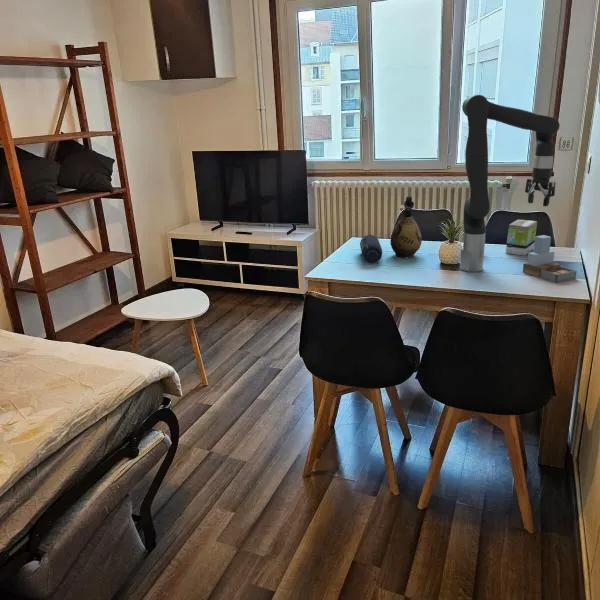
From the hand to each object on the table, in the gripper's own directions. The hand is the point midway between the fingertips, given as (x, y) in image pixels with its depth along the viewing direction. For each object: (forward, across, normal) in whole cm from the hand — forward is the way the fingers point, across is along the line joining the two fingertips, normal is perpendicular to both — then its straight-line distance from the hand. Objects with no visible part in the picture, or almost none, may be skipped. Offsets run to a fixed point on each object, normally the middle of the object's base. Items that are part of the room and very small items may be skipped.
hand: (537, 204), depth 231 cm
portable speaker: (+30, -52, -54) cm, 80 cm away
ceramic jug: (+30, -46, -37) cm, 66 cm away
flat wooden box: (+29, +7, -1) cm, 30 cm away
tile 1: (+26, +17, -3) cm, 32 cm away
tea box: (+29, -24, +17) cm, 41 cm away
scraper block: (+25, +6, -1) cm, 26 cm away
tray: (+29, +16, -1) cm, 33 cm away
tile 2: (+26, +17, +2) cm, 31 cm away
